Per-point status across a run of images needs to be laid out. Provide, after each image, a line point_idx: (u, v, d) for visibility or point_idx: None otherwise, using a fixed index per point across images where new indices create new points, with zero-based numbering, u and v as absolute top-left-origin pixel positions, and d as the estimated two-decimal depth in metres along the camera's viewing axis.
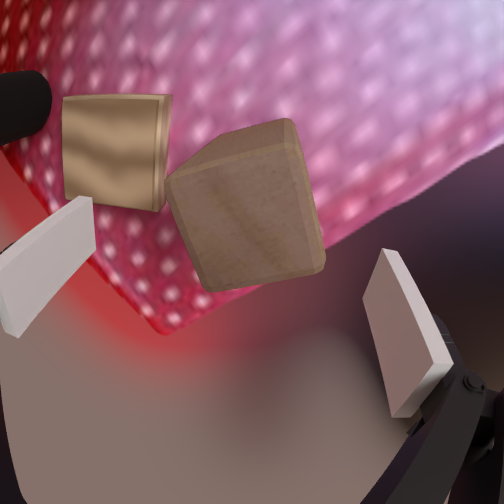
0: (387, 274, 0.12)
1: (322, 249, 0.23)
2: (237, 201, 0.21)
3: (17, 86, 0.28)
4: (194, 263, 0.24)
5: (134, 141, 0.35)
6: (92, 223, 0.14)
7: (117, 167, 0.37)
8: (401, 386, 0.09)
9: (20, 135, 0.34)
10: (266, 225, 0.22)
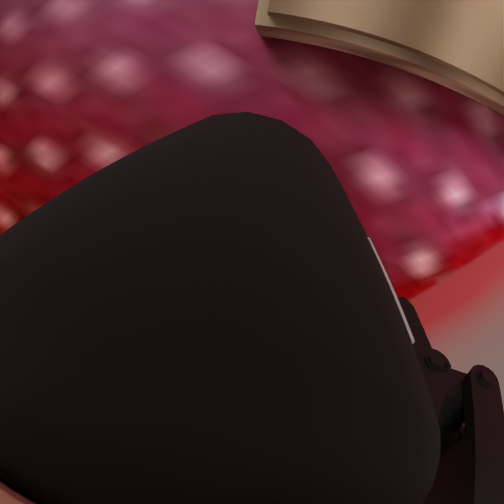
0: None
1: None
2: None
3: None
4: None
5: None
6: None
7: None
8: None
9: None
10: None
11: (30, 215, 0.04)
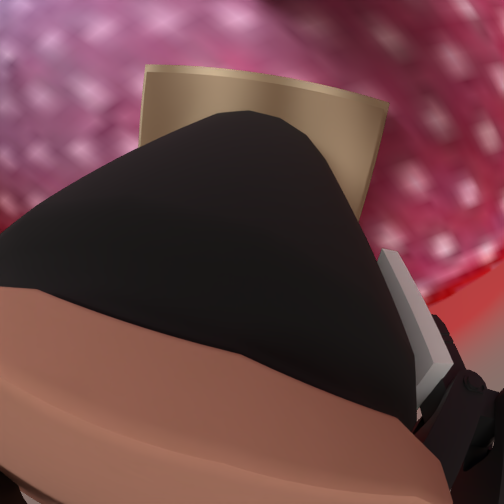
0: (388, 274, 0.12)
1: None
2: None
3: None
4: None
5: None
6: None
7: None
8: None
9: None
10: None
11: (80, 180, 0.05)
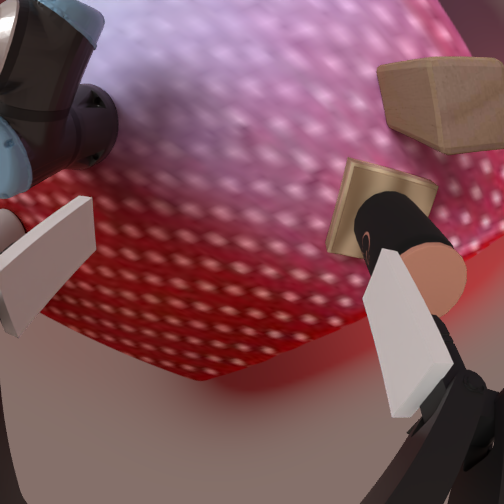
0: (388, 274, 0.12)
1: (489, 58, 0.20)
2: (462, 105, 0.23)
3: (391, 209, 0.38)
4: (494, 147, 0.25)
5: None
6: (92, 223, 0.14)
7: None
8: (401, 386, 0.09)
9: None
10: (476, 90, 0.22)
11: (416, 228, 0.32)
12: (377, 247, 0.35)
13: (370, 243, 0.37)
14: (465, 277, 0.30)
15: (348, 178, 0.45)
